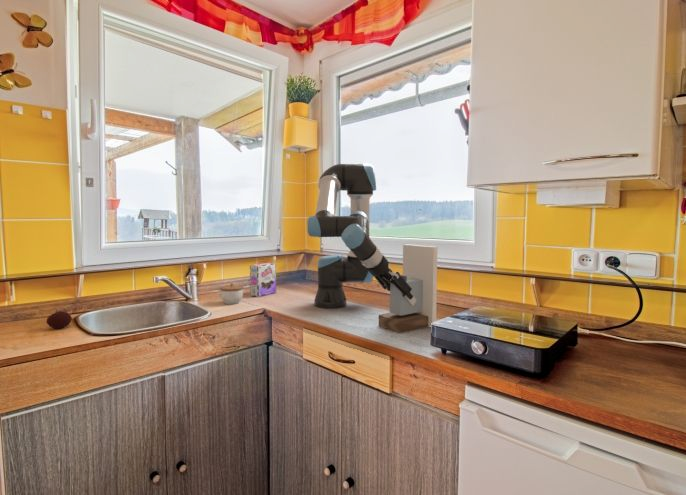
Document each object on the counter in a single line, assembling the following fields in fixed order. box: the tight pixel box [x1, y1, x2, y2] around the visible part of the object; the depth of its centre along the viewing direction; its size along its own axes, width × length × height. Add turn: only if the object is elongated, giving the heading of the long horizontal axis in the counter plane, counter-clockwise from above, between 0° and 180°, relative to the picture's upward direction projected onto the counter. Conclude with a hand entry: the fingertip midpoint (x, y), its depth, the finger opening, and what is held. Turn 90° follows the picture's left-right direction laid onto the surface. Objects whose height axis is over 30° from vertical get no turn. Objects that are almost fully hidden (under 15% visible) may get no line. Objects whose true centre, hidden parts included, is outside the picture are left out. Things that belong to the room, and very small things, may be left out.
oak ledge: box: [378, 312, 429, 334], centre depth 139 cm, size 12×14×4 cm
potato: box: [46, 310, 73, 329], centre depth 138 cm, size 8×9×6 cm
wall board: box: [402, 243, 438, 328], centre depth 143 cm, size 16×2×30 cm, turn 34°
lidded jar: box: [219, 282, 244, 305], centre depth 178 cm, size 11×11×9 cm
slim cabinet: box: [389, 274, 423, 316], centre depth 139 cm, size 6×11×14 cm, turn 124°
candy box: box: [249, 262, 277, 298], centre depth 197 cm, size 14×6×16 cm, turn 147°
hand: (407, 301), depth 140 cm, fingers closed on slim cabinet, 6 cm apart
